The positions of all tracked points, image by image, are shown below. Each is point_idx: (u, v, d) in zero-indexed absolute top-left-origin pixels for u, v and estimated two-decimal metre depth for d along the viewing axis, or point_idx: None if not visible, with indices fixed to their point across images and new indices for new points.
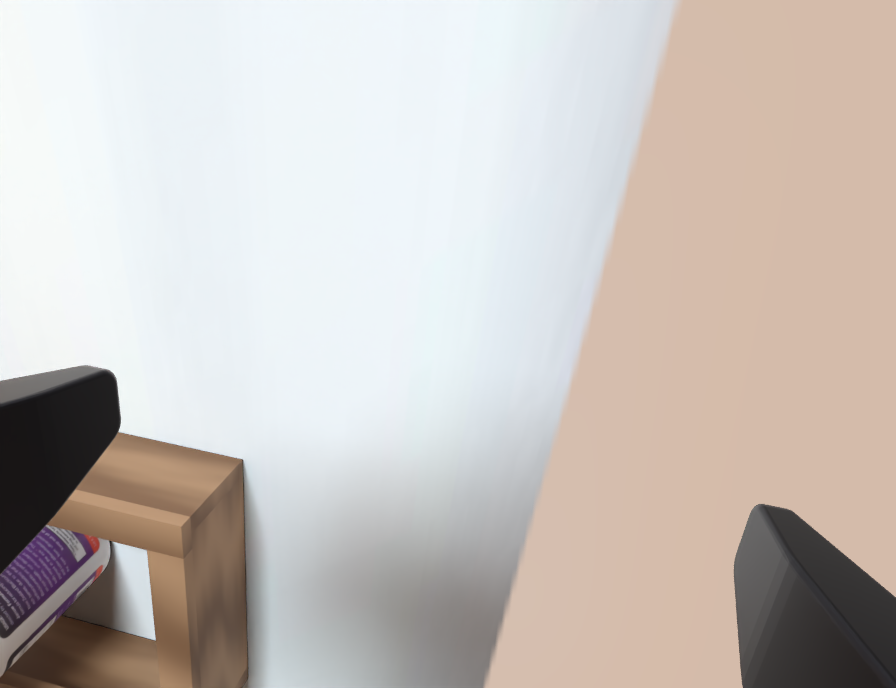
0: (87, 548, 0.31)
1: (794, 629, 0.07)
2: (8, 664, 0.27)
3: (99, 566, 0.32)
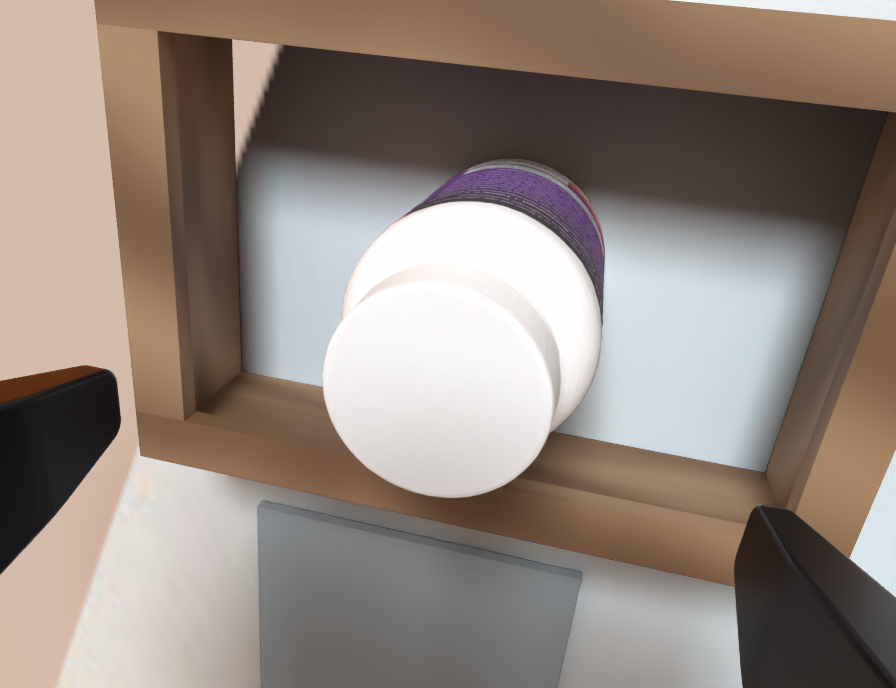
0: (603, 245, 0.18)
1: (794, 629, 0.07)
2: None
3: None
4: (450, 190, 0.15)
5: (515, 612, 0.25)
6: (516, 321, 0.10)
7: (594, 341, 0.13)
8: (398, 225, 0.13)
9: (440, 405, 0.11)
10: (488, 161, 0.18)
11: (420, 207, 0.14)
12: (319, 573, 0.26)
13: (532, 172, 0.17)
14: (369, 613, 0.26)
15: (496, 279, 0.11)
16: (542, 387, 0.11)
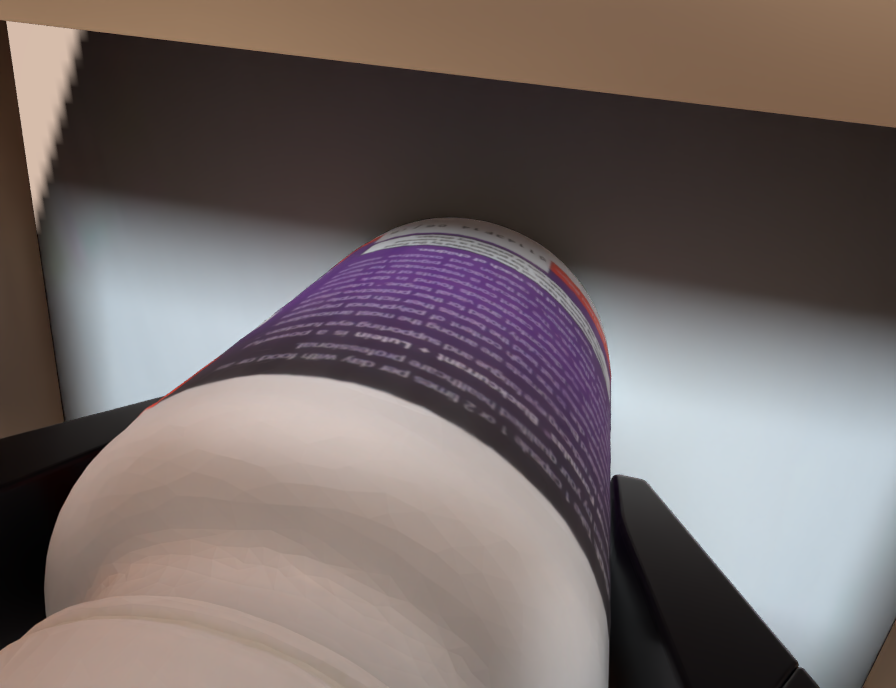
0: (608, 372, 0.10)
1: (616, 588, 0.07)
2: None
3: None
4: (303, 312, 0.07)
5: None
6: None
7: None
8: (134, 433, 0.06)
9: None
10: (416, 223, 0.11)
11: (214, 369, 0.06)
12: None
13: (483, 253, 0.09)
14: None
15: None
16: None
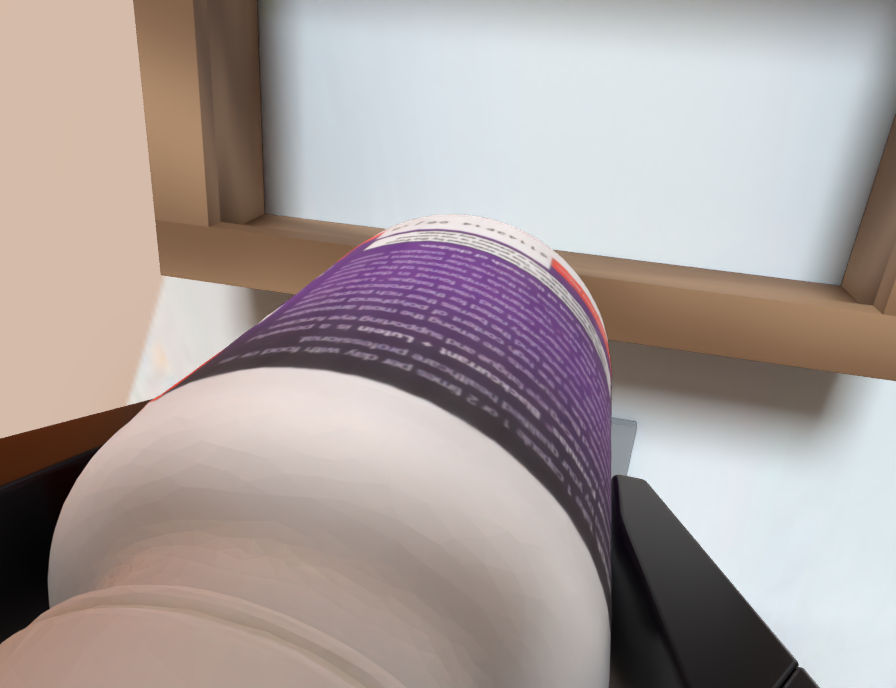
0: (609, 368, 0.10)
1: (616, 588, 0.07)
2: None
3: None
4: (305, 307, 0.07)
5: None
6: None
7: None
8: (138, 425, 0.06)
9: None
10: (417, 219, 0.11)
11: (217, 362, 0.06)
12: None
13: (484, 249, 0.09)
14: None
15: (306, 681, 0.04)
16: None
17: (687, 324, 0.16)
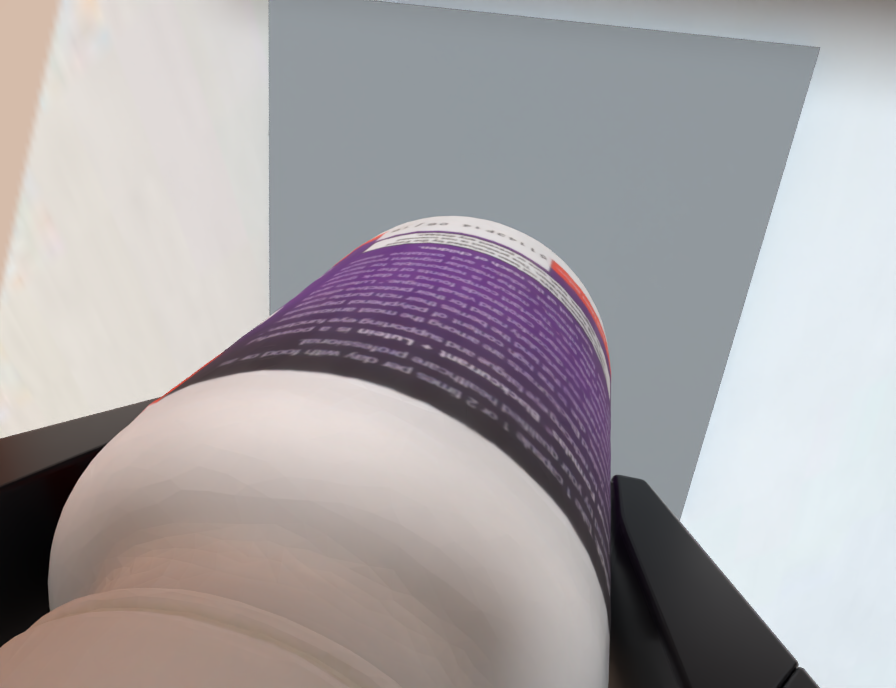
0: (608, 370, 0.10)
1: (616, 588, 0.07)
2: None
3: None
4: (306, 309, 0.07)
5: (693, 141, 0.15)
6: None
7: None
8: (139, 427, 0.06)
9: None
10: (417, 221, 0.11)
11: (218, 364, 0.06)
12: (367, 115, 0.16)
13: (484, 252, 0.09)
14: (445, 186, 0.16)
15: (307, 684, 0.04)
16: None
17: None
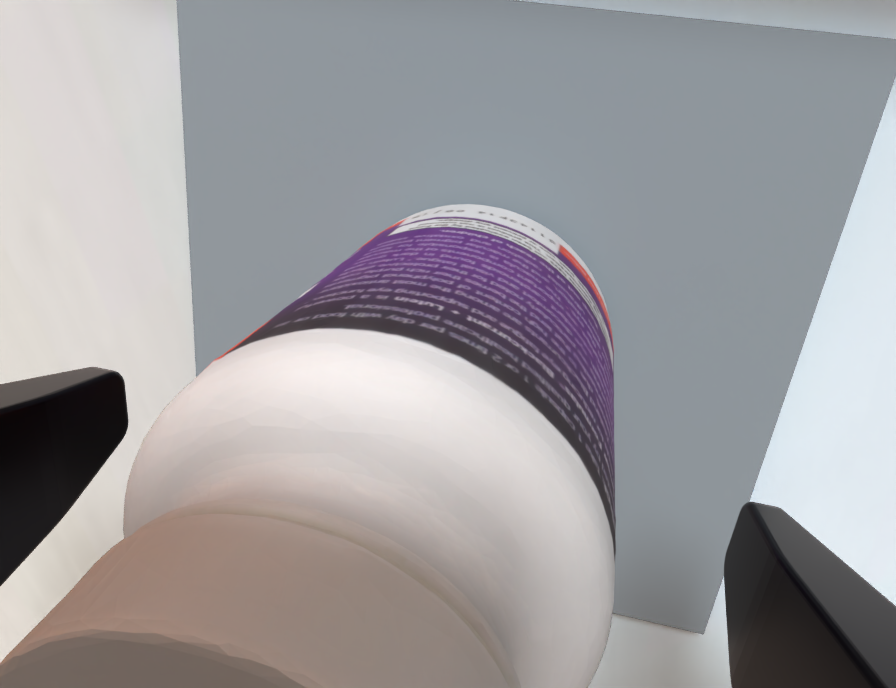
0: (611, 346, 0.11)
1: (781, 626, 0.07)
2: None
3: None
4: (344, 282, 0.08)
5: (730, 166, 0.11)
6: None
7: (601, 619, 0.06)
8: (210, 377, 0.06)
9: None
10: (435, 209, 0.12)
11: (272, 327, 0.07)
12: (306, 129, 0.13)
13: (499, 235, 0.10)
14: None
15: (373, 567, 0.05)
16: None
17: None
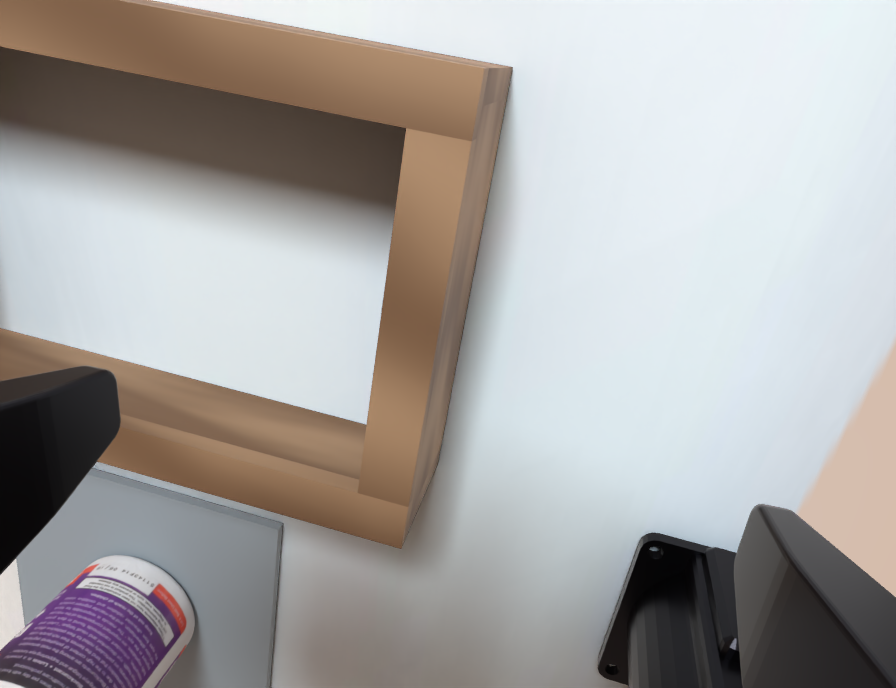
0: (175, 629, 0.27)
1: (794, 629, 0.07)
2: None
3: (183, 647, 0.28)
4: (28, 639, 0.24)
5: (228, 558, 0.27)
6: None
7: None
8: None
9: None
10: (111, 560, 0.28)
11: None
12: (61, 514, 0.28)
13: (116, 594, 0.26)
14: (107, 554, 0.28)
15: None
16: None
17: (227, 480, 0.20)
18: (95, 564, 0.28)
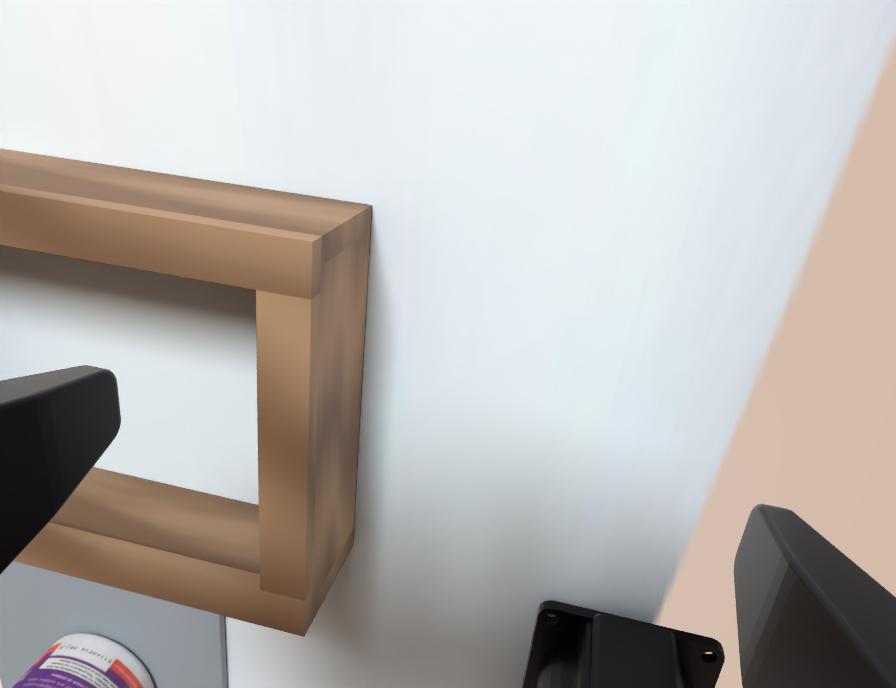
0: None
1: (794, 629, 0.07)
2: None
3: None
4: None
5: (178, 632, 0.29)
6: None
7: None
8: None
9: None
10: (72, 639, 0.30)
11: None
12: (26, 598, 0.31)
13: (75, 673, 0.28)
14: (71, 631, 0.31)
15: None
16: None
17: (148, 581, 0.22)
18: (58, 643, 0.30)
